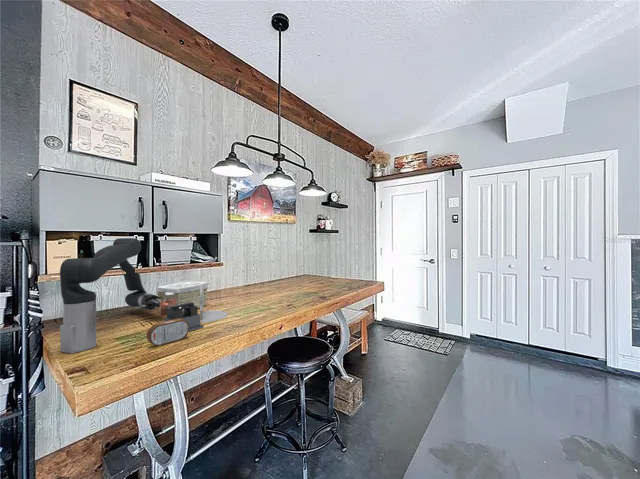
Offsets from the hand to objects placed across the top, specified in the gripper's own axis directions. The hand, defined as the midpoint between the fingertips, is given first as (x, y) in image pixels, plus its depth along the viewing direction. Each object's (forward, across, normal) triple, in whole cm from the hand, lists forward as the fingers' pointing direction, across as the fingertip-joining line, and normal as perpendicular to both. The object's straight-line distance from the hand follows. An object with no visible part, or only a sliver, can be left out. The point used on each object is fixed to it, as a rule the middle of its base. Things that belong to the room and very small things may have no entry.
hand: (163, 305), depth 134 cm
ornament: (+10, +21, +8) cm, 25 cm away
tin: (+30, -11, +8) cm, 33 cm away
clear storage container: (-18, +19, +8) cm, 27 cm away
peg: (+12, 0, +3) cm, 12 cm away
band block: (+19, 0, +8) cm, 20 cm away
